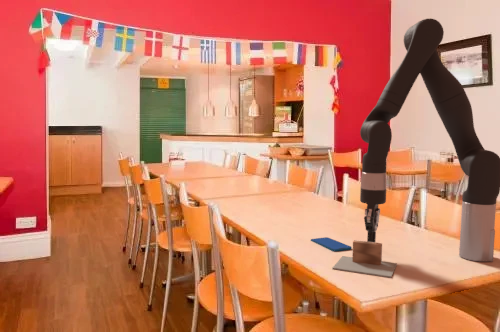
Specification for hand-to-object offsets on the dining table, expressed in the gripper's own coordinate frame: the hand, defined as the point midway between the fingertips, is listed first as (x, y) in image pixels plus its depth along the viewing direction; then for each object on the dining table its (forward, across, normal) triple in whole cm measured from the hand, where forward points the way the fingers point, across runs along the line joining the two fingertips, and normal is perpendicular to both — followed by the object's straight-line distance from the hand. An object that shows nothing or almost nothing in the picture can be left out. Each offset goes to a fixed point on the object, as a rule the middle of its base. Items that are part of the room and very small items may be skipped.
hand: (371, 243), depth 137 cm
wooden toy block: (+4, -7, 0) cm, 8 cm away
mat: (+4, -10, 0) cm, 11 cm away
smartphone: (+5, +8, +15) cm, 18 cm away
